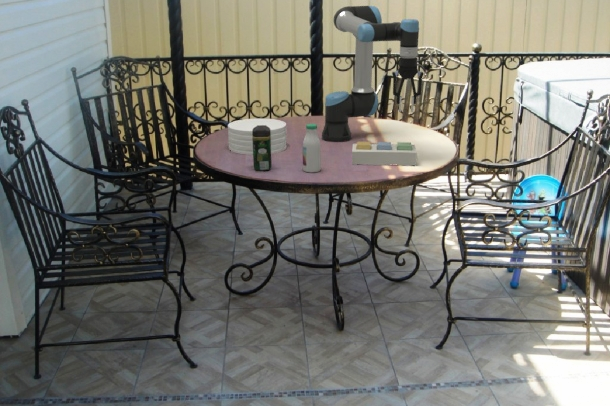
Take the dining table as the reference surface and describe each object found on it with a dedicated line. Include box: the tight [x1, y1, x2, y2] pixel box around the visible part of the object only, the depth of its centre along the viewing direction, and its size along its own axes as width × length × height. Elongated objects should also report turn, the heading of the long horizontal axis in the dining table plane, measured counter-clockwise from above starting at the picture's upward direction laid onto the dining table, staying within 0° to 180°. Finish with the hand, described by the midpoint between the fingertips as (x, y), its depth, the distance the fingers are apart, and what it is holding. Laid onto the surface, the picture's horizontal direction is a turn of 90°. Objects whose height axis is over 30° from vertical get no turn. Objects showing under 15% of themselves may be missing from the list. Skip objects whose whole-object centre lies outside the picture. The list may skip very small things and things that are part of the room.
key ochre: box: [356, 141, 372, 150], centre depth 296 cm, size 6×6×4 cm
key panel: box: [351, 143, 418, 166], centre depth 296 cm, size 28×14×6 cm, turn 85°
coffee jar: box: [252, 125, 273, 172], centre depth 284 cm, size 10×8×19 cm
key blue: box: [376, 141, 392, 150], centre depth 295 cm, size 6×6×4 cm
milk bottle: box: [302, 123, 322, 173], centre depth 281 cm, size 8×8×20 cm
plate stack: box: [227, 118, 287, 156], centre depth 320 cm, size 28×28×12 cm
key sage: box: [396, 141, 413, 150], centre depth 294 cm, size 6×6×4 cm
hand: (406, 111), depth 289 cm, fingers open, 4 cm apart
